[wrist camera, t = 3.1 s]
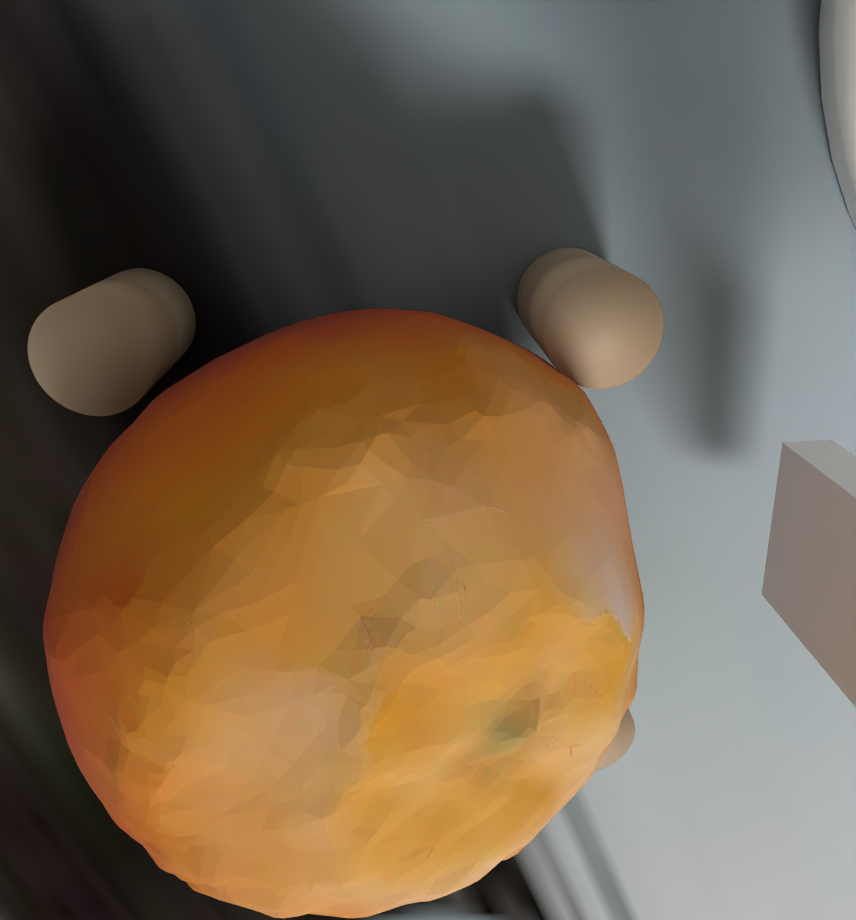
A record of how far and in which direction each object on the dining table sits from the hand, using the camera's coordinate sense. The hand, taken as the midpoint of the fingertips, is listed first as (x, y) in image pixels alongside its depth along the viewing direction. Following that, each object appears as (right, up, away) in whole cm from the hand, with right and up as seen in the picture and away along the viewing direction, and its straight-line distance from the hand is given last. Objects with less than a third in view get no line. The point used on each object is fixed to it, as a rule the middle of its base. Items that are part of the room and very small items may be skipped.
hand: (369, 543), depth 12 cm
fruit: (0, +1, +2) cm, 2 cm away
